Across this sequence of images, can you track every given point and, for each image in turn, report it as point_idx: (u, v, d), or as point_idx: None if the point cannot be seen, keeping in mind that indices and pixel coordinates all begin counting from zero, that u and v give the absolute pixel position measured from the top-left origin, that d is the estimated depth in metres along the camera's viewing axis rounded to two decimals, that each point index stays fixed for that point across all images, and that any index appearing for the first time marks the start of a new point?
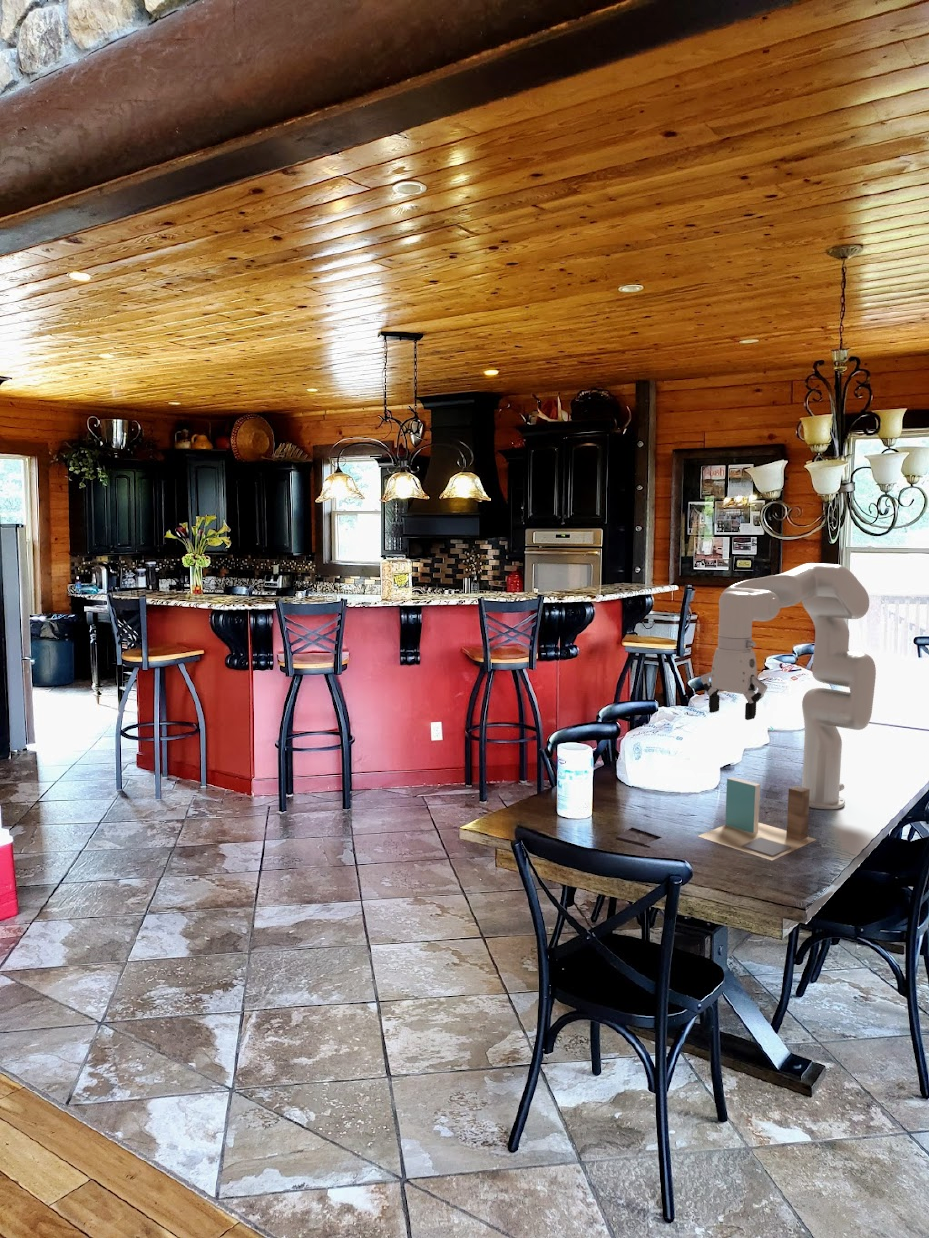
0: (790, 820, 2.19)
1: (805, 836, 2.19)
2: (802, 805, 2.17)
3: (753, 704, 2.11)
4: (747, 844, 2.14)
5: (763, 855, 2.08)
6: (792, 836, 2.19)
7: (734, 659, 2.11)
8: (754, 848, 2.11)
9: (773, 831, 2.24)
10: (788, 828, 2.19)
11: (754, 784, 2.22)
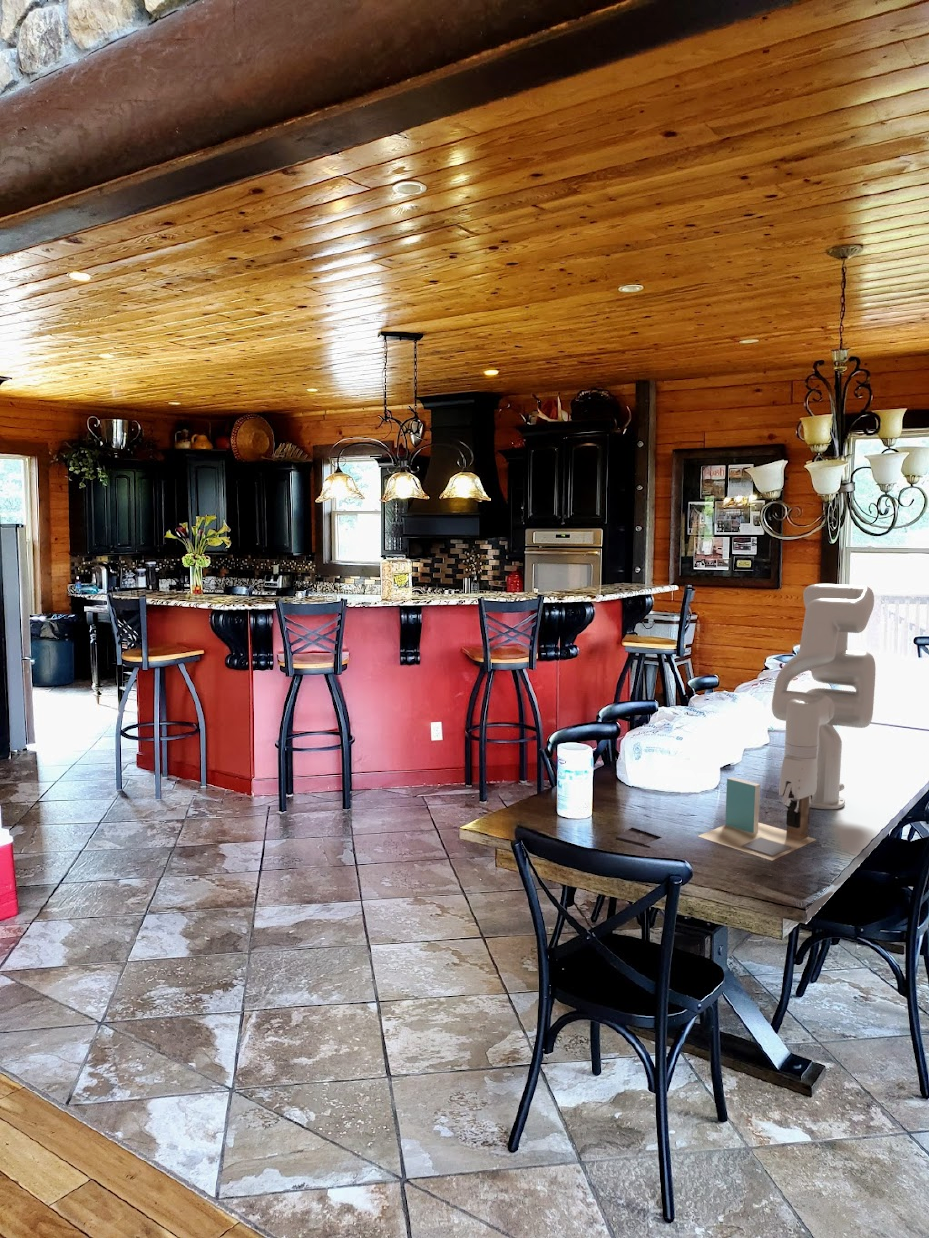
0: None
1: (805, 836, 2.19)
2: (802, 805, 2.17)
3: None
4: (747, 844, 2.14)
5: (763, 855, 2.08)
6: (792, 836, 2.19)
7: (813, 764, 2.17)
8: (754, 848, 2.11)
9: (773, 831, 2.24)
10: (788, 828, 2.19)
11: (754, 784, 2.22)
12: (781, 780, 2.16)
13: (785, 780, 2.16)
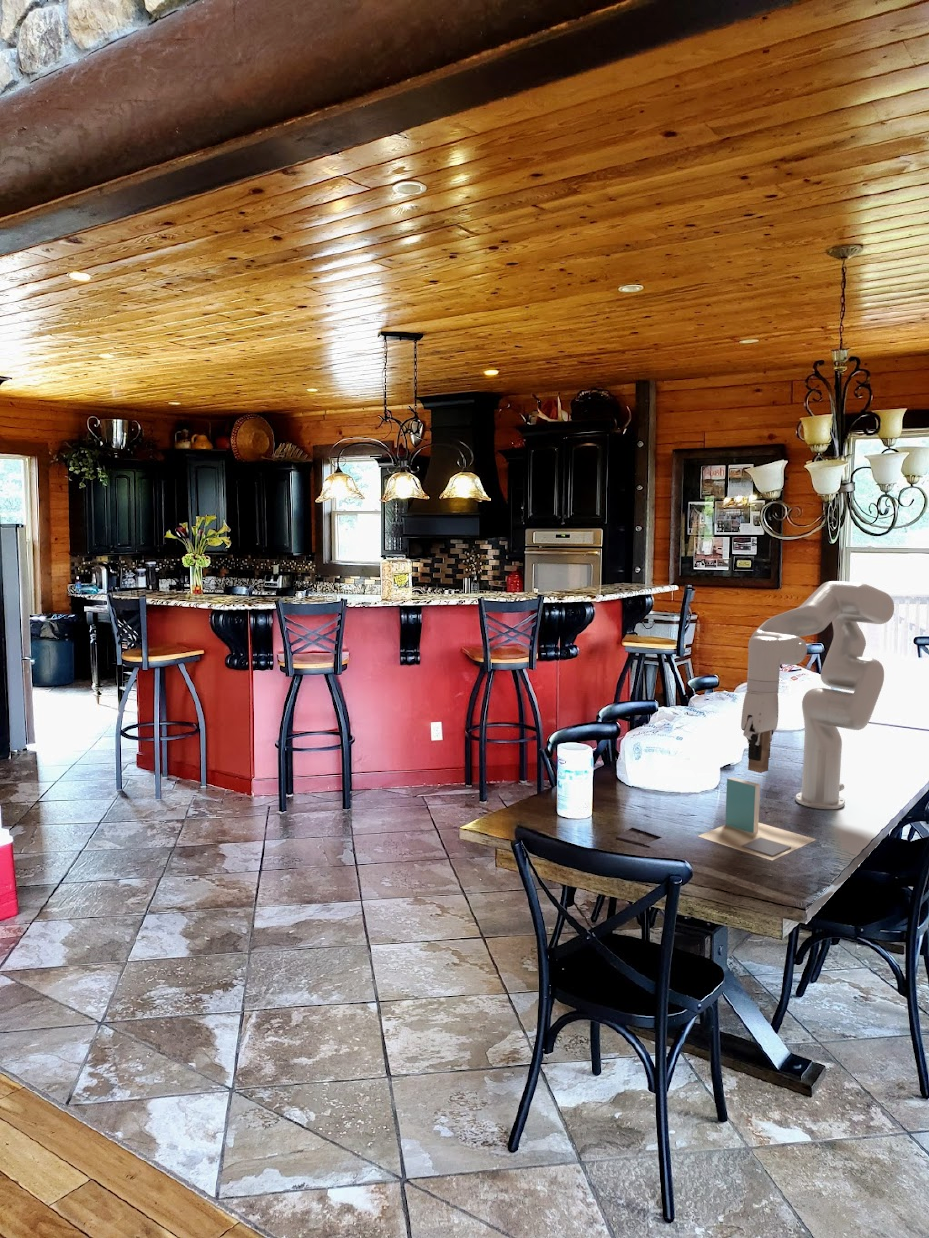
0: None
1: (766, 769, 2.27)
2: (762, 739, 2.25)
3: None
4: (747, 844, 2.14)
5: (763, 855, 2.08)
6: (753, 769, 2.27)
7: (774, 699, 2.25)
8: (754, 848, 2.11)
9: (773, 831, 2.24)
10: (750, 761, 2.28)
11: (754, 784, 2.22)
12: (743, 714, 2.25)
13: (747, 714, 2.24)
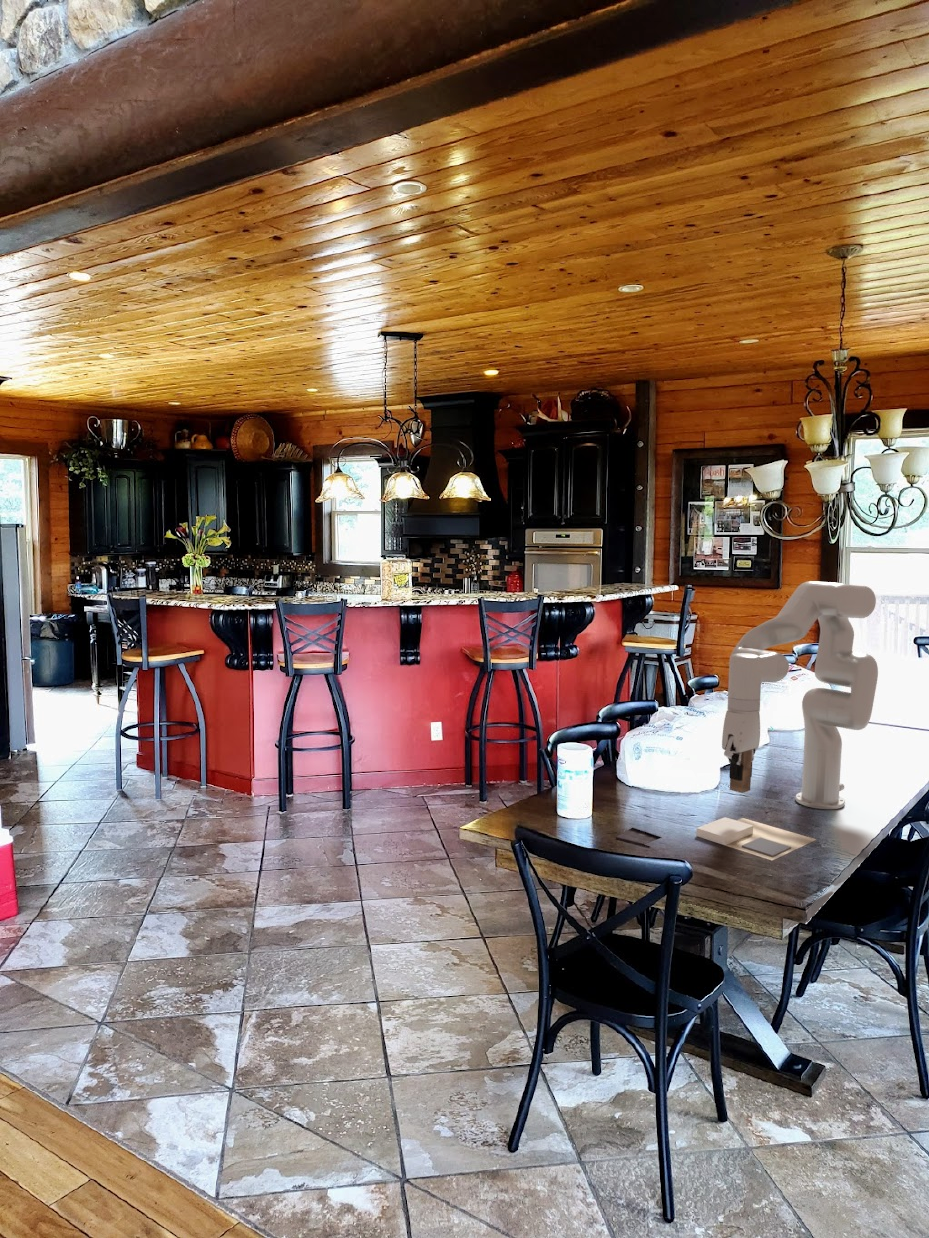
0: None
1: (748, 789, 2.23)
2: (744, 758, 2.20)
3: None
4: (747, 844, 2.14)
5: (763, 855, 2.08)
6: (735, 789, 2.22)
7: (755, 718, 2.21)
8: (754, 848, 2.11)
9: (773, 831, 2.24)
10: (731, 781, 2.23)
11: (722, 840, 2.15)
12: (724, 733, 2.20)
13: (727, 733, 2.19)
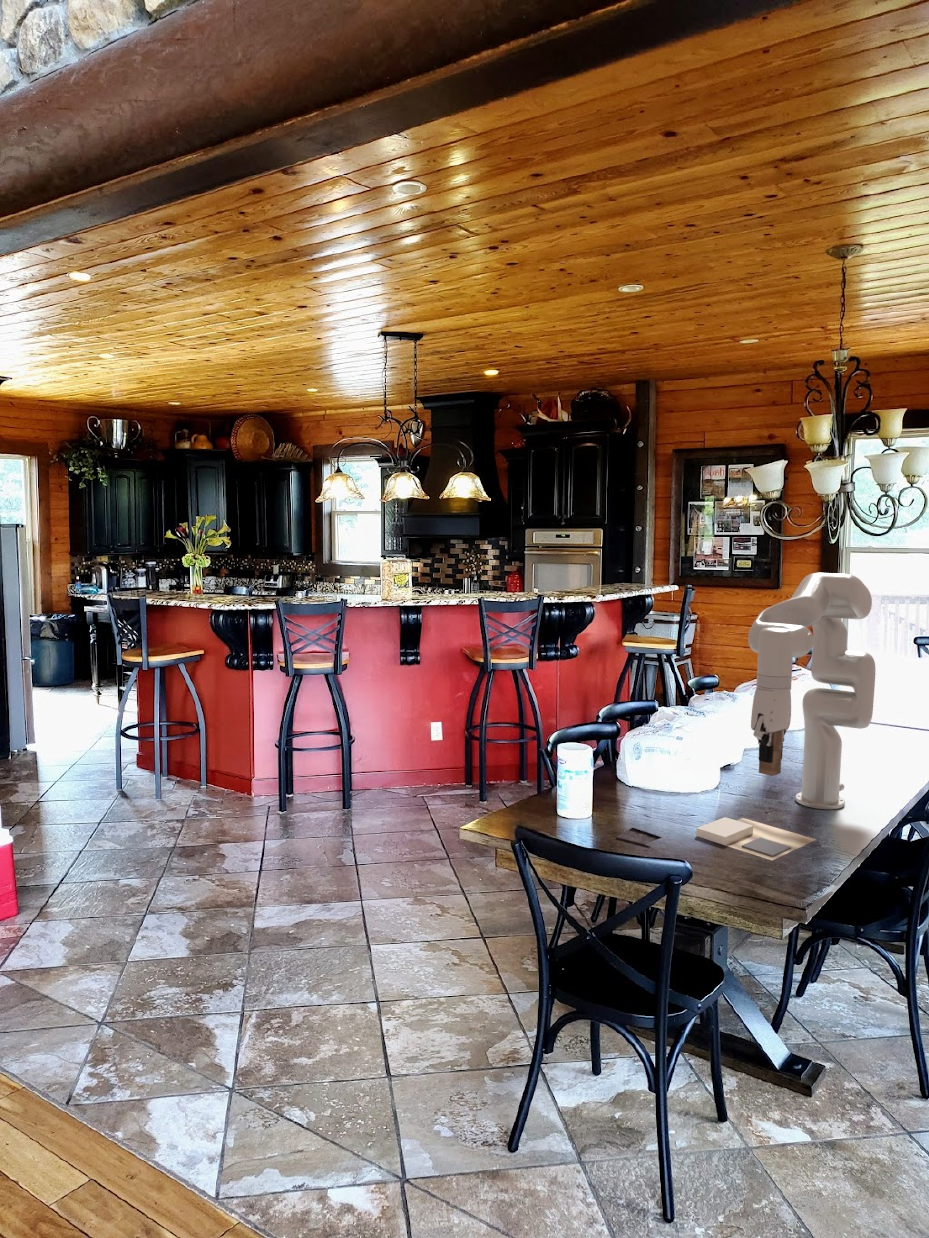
0: None
1: (778, 772, 2.10)
2: (774, 739, 2.07)
3: None
4: (747, 844, 2.14)
5: (763, 855, 2.08)
6: (764, 772, 2.10)
7: (787, 696, 2.08)
8: (754, 848, 2.11)
9: (773, 831, 2.24)
10: (760, 763, 2.10)
11: (722, 840, 2.15)
12: (753, 712, 2.07)
13: (757, 712, 2.06)
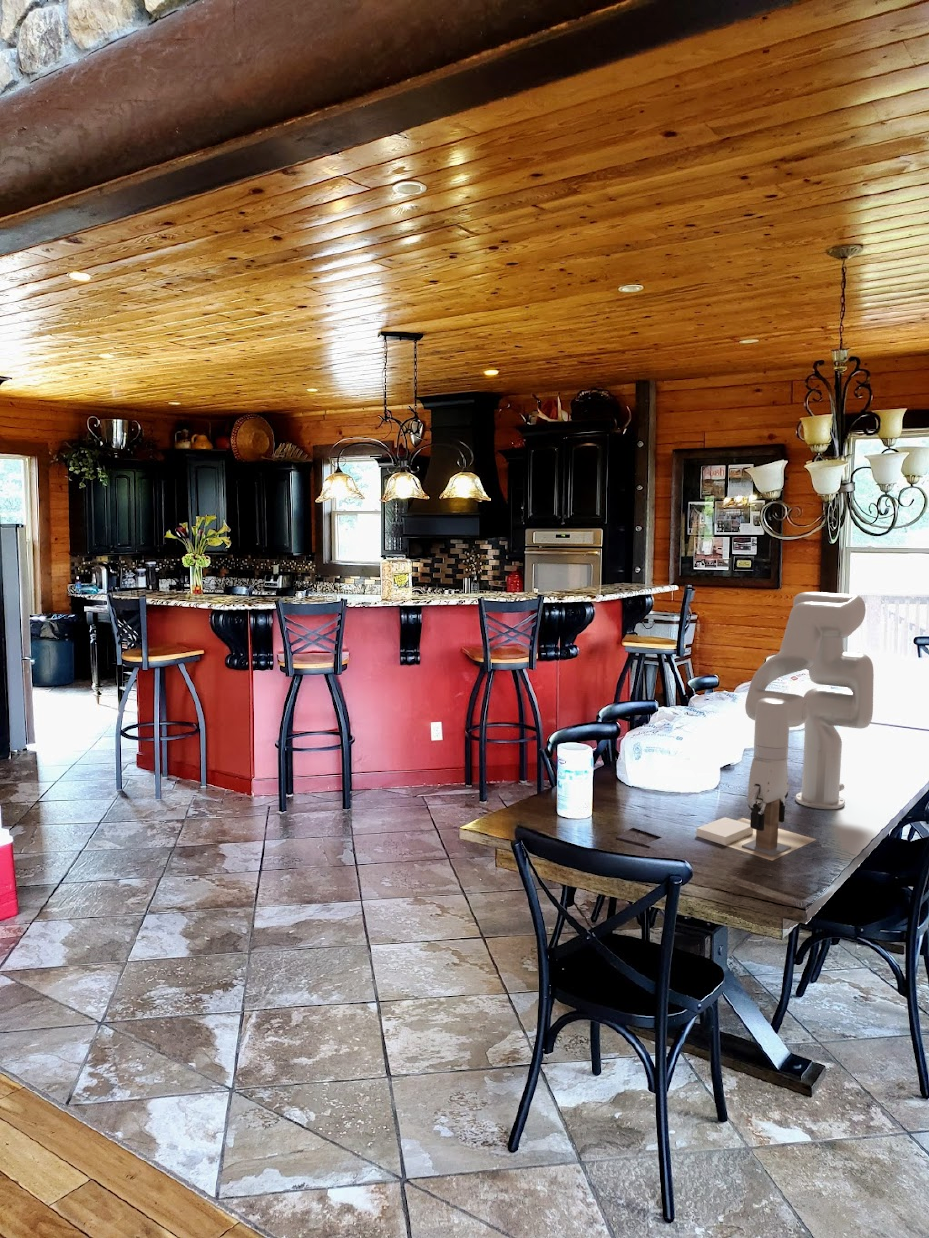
0: None
1: (775, 845, 2.12)
2: (771, 813, 2.10)
3: None
4: (747, 844, 2.14)
5: (763, 855, 2.08)
6: (761, 845, 2.12)
7: (783, 766, 2.10)
8: (754, 848, 2.11)
9: None
10: (757, 837, 2.12)
11: (722, 840, 2.15)
12: (750, 782, 2.09)
13: (754, 783, 2.08)
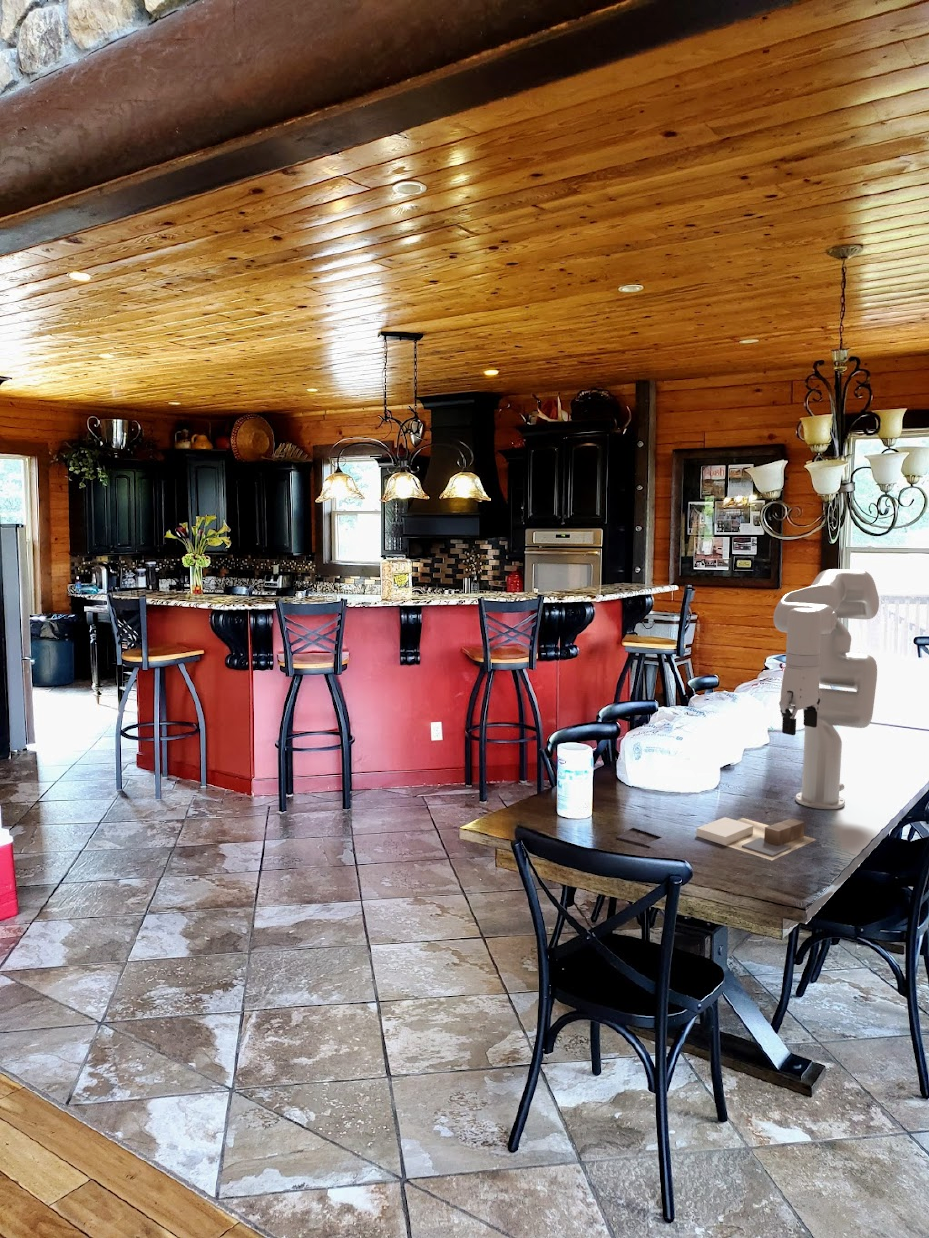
0: (777, 824, 2.17)
1: (778, 841, 2.13)
2: (797, 825, 2.18)
3: None
4: (747, 844, 2.14)
5: (763, 855, 2.08)
6: (772, 828, 2.14)
7: (815, 673, 2.15)
8: (754, 848, 2.11)
9: None
10: (771, 826, 2.16)
11: (722, 840, 2.15)
12: (783, 690, 2.15)
13: (786, 690, 2.14)
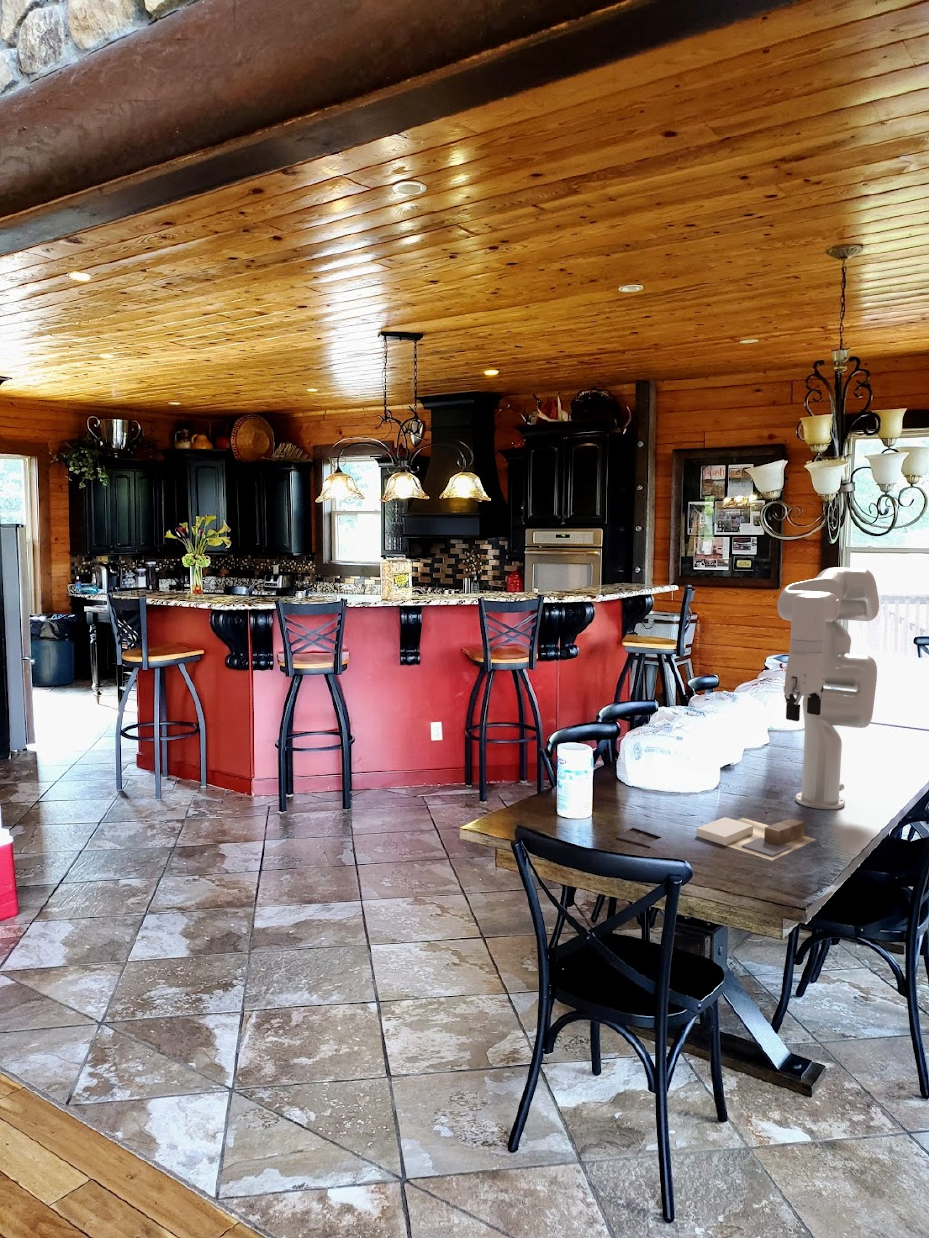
0: (777, 824, 2.17)
1: (778, 841, 2.13)
2: (797, 825, 2.18)
3: None
4: (747, 844, 2.14)
5: (763, 855, 2.08)
6: (772, 828, 2.14)
7: (819, 660, 2.16)
8: (754, 848, 2.11)
9: None
10: (771, 826, 2.16)
11: (722, 840, 2.15)
12: (787, 675, 2.15)
13: (790, 675, 2.14)
